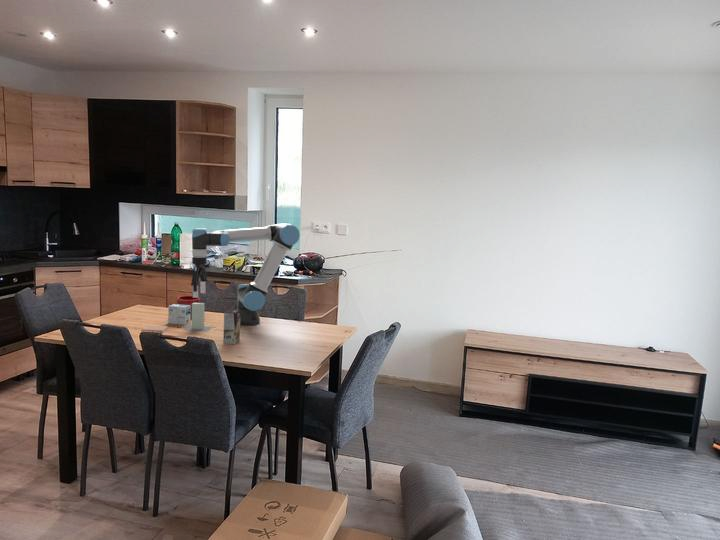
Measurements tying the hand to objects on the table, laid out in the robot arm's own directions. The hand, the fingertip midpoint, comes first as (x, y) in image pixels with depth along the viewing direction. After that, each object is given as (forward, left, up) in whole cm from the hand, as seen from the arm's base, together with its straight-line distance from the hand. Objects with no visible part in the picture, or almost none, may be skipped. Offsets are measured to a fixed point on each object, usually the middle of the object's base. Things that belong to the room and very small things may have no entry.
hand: (199, 295), depth 300 cm
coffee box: (-24, +22, -19) cm, 38 cm away
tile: (+15, +9, -18) cm, 26 cm away
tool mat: (0, 0, -19) cm, 19 cm away
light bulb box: (+14, -11, -19) cm, 27 cm away
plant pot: (+15, -30, -19) cm, 39 cm away
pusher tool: (0, 0, -19) cm, 19 cm away
